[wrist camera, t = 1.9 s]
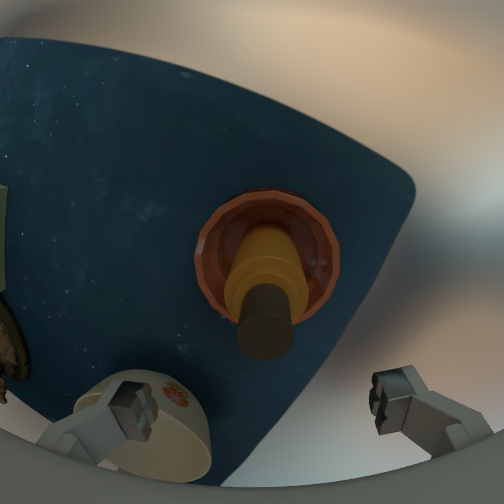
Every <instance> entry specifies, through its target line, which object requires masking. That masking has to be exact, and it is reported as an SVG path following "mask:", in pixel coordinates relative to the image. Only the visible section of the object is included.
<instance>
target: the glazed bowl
mask: <svg viewBox="0 0 504 504" xmlns="http://www.w3.org/2000/svg"><path fill="white" fill-rule="evenodd" d="M261 221H275V222H278V223H280V224H282V225H284V226H285V227H286V228H287V229H288V230H289V231H290V232H291V234H292V236H293V238H294V242H295V245H296V248H297V251H298V255H299V258H300V261H301V265H302V268H303V272H304V275H305V278H306V282H307V286H308V292H309V297H308V303H307V306H306V309H305V311H304V312H303V314H302V315H301V317H300V318H299V319H298V320H297V321H296V322H295V323H294V324H292V325H295V324H297V323H299V322H301V321H303V320H306V319H308V318H310V317H311V316H312V315H313V314H314V313H315V312H316V311H317V310H318V309H319V308H320V307H321V306H322V305H323V304H324V303H325V302H326V301H327V300H328V299H329V298H330V296H331V294H332V291H333V289H334V286H335V284H336V282H337V279H338V277H339V274H340V246H339V243H338V241H337V239H336V237H335V234H334V232H333V230H332V228H331V226H330V224H329V222H328V220H327V218H325V217H324V216H323V215H322V214H321V213H320V212H319V211H318V210H317V209H316V208H315V207H314V206H313V205H312V204H311V203H309V202H308V201H307V200H306V199H305V198H304V197H302V196H301V195H300V194H299V193H297V192H294V191H290V190H287V189H284V188H281V187H278V186H263V187H252V188H248V189H246V190H244V191H243V192H241V193H239V194H237V195H235V196H233V197H231V198H230V199H228V200H227V201H226V202H224V203H223V204H222V205H221V206H220V207H219V208H217V210H216V211H215V212H214V214H213V215H212V216H211V217H210V219H209V220H208V221H207V223H206V224H205V225H204V226H203V228H202V229H201V231H200V234H199V238H198V241H197V246H196V250H195V254H194V263H195V269H196V275H197V281H198V285H199V287H200V288H201V290H202V291H203V293H204V295H205V296H206V298H207V299H208V301H209V302H210V304H211V306H212V307H213V308H214V309H216V310H217V311H218V312H220V313H221V314H222V315H224V316H225V317H227V318H228V319H229V320H231V321H232V322H234V323H237V324H238V322H237V321H236V320H235V319H234V318H233V317H232V316H231V314H230V313H229V311H228V309H227V307H226V304H225V300H224V288H225V284H226V281H227V278H228V276H229V273H230V270H231V267H232V265H233V262H234V259H235V257H236V254H237V251H238V248H239V246H240V243H241V240H242V238H243V235H244V233H245V232H246V231H247V229H248V228H249V227H251V226H252V225H254V224H255V223H258V222H261Z"/></svg>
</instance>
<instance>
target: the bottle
mask: <svg viewBox="0 0 504 504" xmlns="http://www.w3.org/2000/svg"><path fill="white" fill-rule="evenodd" d="M308 297H309V292H308V286H307V282H306V278H305V275H304V272H303V268H302V265H301V261H300V258H299V255H298V251H297V248H296V245H295V242H294V238H293V236H292V234H291V232H290V231H289V230H288V229H287V228H286V227H285V226H284V225H282V224H280V223H278V222H275V221H261V222H258V223H255V224H254V225H252V226H251V227H249V228H248V229H247V231H246V232H245V233H244V235H243V238H242V240H241V243H240V246H239V248H238V251H237V254H236V257H235V259H234V262H233V265H232V267H231V270H230V273H229V276H228V278H227V281H226V284H225V288H224V300H225V304H226V307H227V309H228V311H229V313H230V314H231V316H232V317H233V318H234V319H235V320H236V321H237V322H238V327H237V332H236V339H237V343H238V345H239V347H240V348H241V350H242V351H243V352H244V353H245V354H247V355H248V356H250V357H252V358H255V359H259V360H271V359H275V358H278V357H280V356H281V355H283V354H284V353H286V352H287V350H288V349H289V348H290V346H291V344H292V342H293V329H292V324H294V323H295V322H296V321H297V320H298V319H299V318H300V317H301V315H302V314H303V312H304V311H305V309H306V306H307V303H308Z"/></svg>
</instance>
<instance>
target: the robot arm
mask: <svg viewBox="0 0 504 504" xmlns="http://www.w3.org/2000/svg"><path fill="white" fill-rule="evenodd" d="M372 384H373V388H372V389H371V390H370V394H369V405H370V410H371V413H372V414H373V415H374V416H376V419H375V425H376V428H377V430H378V434H379V435H384V434H389V433H394V432H399V431H401V432H402V433H403V434H404V435H405V436H407V437H408V438H409V439H411V440H412V441H413V442H414V443H416V444H417V445H418V446H420V447H421V448H422V449H424V450H425V451H426V452H428V453H429V454H430V455H432V457H431V459H430V460H428V461H424V462H421V463H418V464H414V465H411V466H407V467H404V468H400V469H397V470H393V471H388V472H384V473H379V474H375V475H370V476H366V477H360V478H355V479H349V480H343V481H336V482H329V483H321V484H312V485H302V486H287V487H257V488H256V487H247V488H246V487H221V486H206V485H195V484H186V483H178V482H171V481H164V480H158V479H152V478H146V477H141V476H136V475H132V474H127V473H123V472H118V471H114V470H110V469H106V468H103V467H99V466H97V464H98V463H100V462H101V461H102V460H104V459H105V458H106V457H107V456H109V455H110V454H111V453H112V452H114V451H115V450H116V449H118V448H119V447H120V446H121V445H123V444H124V443H125V442H126V441H127V439H128V440H135V441H142V442H147V441H148V439H149V436H150V434H151V431H152V429H151V426H150V425H152V424H153V423H155V422H156V419H157V417H158V405H157V402H156V399H154V398H153V397H152V396H151V393H152V389H151V387H150V384H148V383H142V382H133V381H123V380H115V379H114V380H112V381H111V382H110V383H109V385H108V386H107V388H106V389H105V391H104V392H103V394H102V395H101V397H100V398H99V400H98V401H97V403H96V404H91V405H89V406H87V407H85V408H83V409H81V410H80V411H78V412H76V413H74V414H72V415H70V416H68V417H66V418H64V419H62V420H60V421H58V422H56V423H54V424H52V425H50V426H48V428H47V429H46V430H45V432H44V433H43V435H42V436H41V437H40V439H39V440H38V441H37V443H36V444H34V443H31V442H29V441H27V440H24V439H22V438H20V437H18V436H16V435H14V434H11V433H10V432H8V431H6V430H3V429H1V428H0V504H504V429H503V430H501V431H499V432H497V433H495V434H494V432H493V431H492V429H491V428H490V426H489V425H488V423H487V422H486V420H485V419H484V417H483V415H482V414H481V413H480V412H477V411H475V410H473V409H471V408H468V407H467V406H464V405H462V404H460V403H458V402H456V401H454V400H451V399H449V398H447V397H445V396H443V395H441V394H439V393H437V392H435V391H429V390H428V388H427V387H426V385H425V384H424V382H423V380H422V379H421V377H420V376H419V374H418V372H417V371H416V369H415V368H414V366H412V365H409V366H405V367H401V368H397V369H391V370H386V371H381V372H375V373H373V376H372Z"/></svg>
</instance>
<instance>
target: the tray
mask: <svg viewBox="0 0 504 504" xmlns="http://www.w3.org/2000/svg"><path fill="white" fill-rule="evenodd" d="M7 192H8V187H6V186H4V185H1V184H0V292H2V291H3V290H5V289H6V280H5V217H6V203H7Z"/></svg>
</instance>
